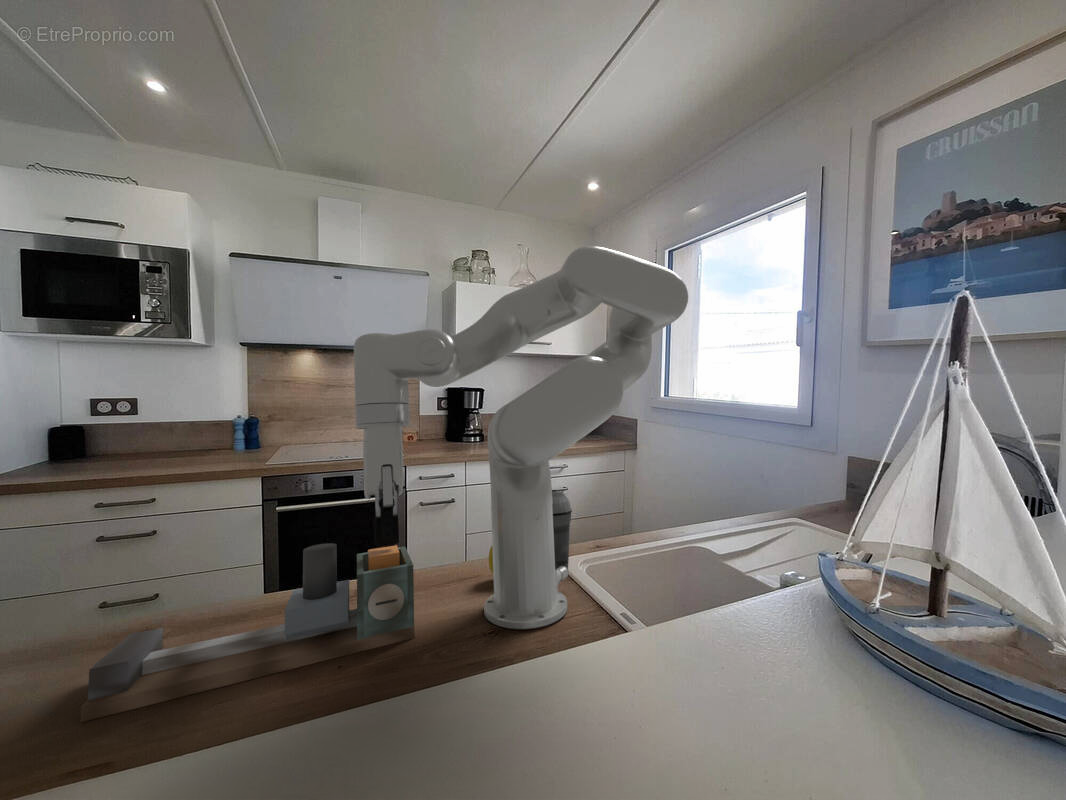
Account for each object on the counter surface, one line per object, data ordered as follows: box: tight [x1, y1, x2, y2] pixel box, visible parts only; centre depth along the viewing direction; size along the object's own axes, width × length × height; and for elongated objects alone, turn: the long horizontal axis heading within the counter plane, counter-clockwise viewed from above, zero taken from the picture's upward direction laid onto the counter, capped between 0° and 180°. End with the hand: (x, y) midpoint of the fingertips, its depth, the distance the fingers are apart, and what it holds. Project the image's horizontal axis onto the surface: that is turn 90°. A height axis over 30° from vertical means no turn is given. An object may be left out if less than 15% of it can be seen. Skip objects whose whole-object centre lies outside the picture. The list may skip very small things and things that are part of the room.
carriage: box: [284, 542, 350, 640], centre depth 52 cm, size 7×7×10 cm
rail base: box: [80, 546, 415, 723], centre depth 50 cm, size 32×10×10 cm, turn 115°
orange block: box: [367, 544, 400, 571], centre depth 55 cm, size 4×4×4 cm
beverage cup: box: [552, 489, 573, 570], centre depth 74 cm, size 7×7×20 cm
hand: (386, 543), depth 56 cm, fingers closed
